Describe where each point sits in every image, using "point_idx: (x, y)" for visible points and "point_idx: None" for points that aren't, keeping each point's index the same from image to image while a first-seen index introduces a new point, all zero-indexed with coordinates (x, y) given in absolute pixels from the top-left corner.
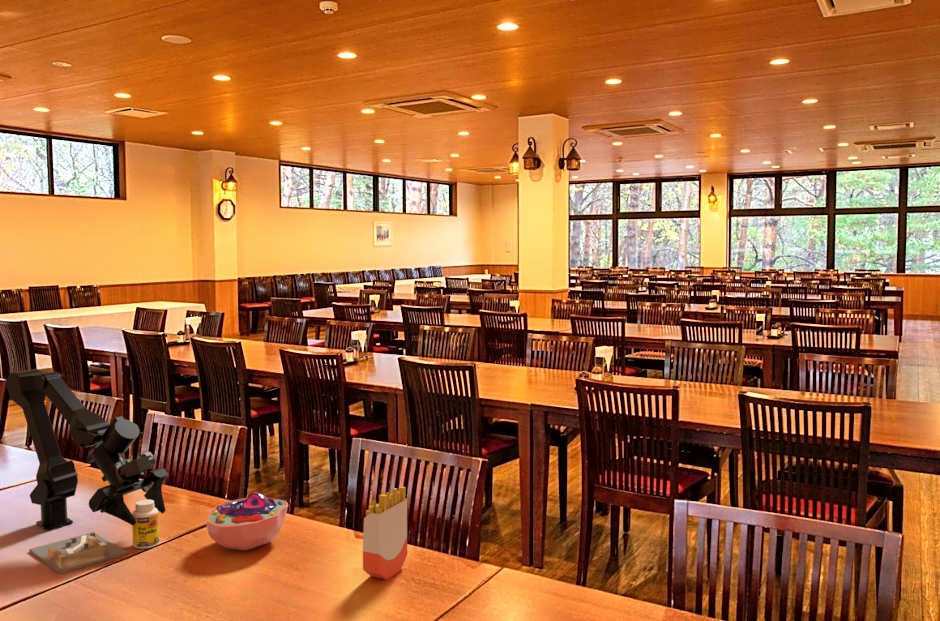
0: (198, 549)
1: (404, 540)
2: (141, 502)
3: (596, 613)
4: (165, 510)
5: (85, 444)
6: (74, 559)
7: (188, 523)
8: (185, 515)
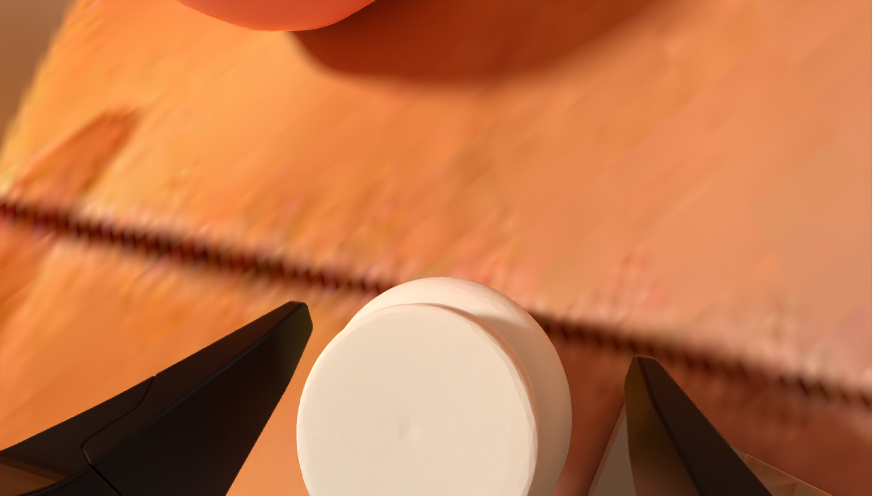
0: (442, 91)
1: None
2: (434, 473)
3: None
4: (292, 301)
5: None
6: None
7: (172, 350)
8: None
